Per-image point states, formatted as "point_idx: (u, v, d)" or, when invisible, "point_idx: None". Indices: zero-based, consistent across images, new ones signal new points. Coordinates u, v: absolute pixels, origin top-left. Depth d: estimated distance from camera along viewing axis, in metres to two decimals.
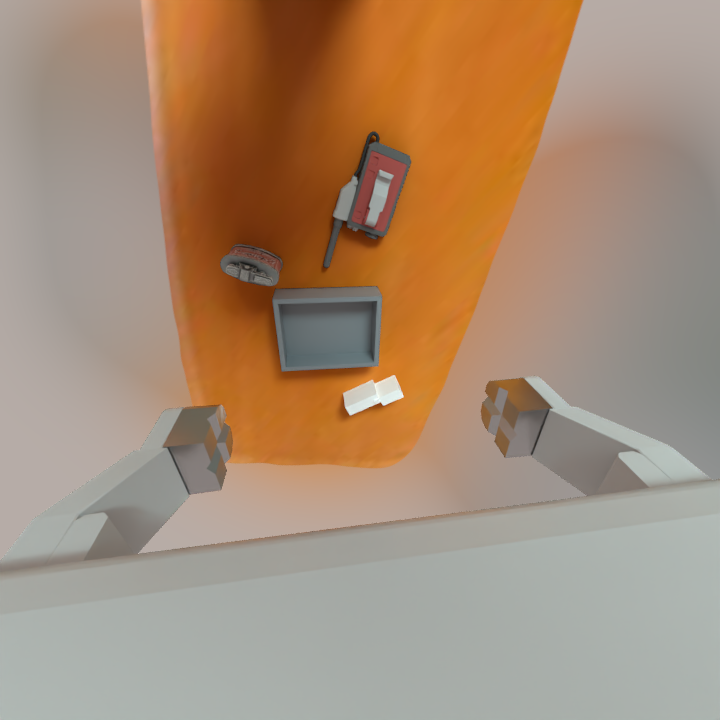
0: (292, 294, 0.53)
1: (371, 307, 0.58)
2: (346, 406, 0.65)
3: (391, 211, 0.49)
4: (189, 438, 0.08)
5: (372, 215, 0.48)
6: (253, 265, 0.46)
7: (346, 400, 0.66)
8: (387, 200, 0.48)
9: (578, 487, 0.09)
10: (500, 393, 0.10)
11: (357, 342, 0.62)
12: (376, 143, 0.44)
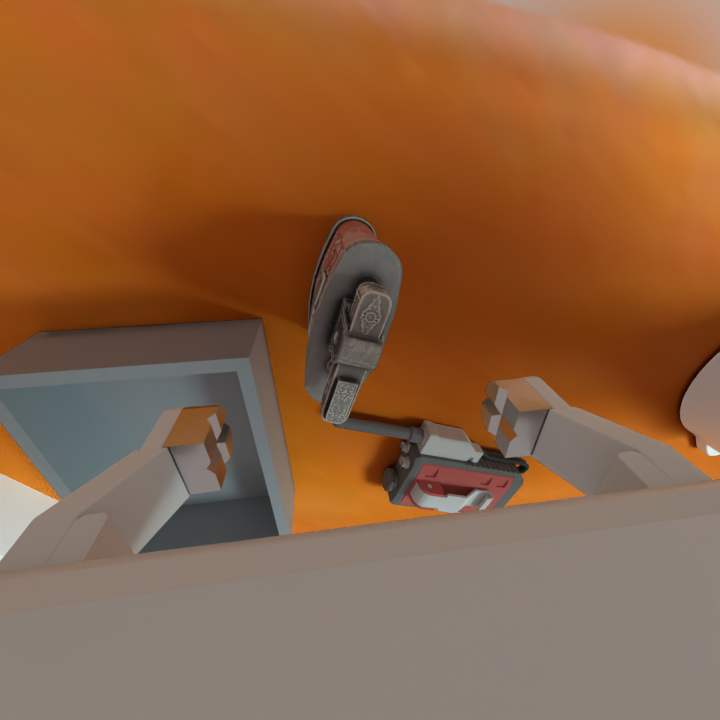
0: (263, 382, 0.20)
1: (252, 496, 0.29)
2: None
3: None
4: (189, 438, 0.08)
5: (434, 501, 0.28)
6: None
7: None
8: None
9: (578, 487, 0.09)
10: (500, 393, 0.10)
11: None
12: (521, 482, 0.30)
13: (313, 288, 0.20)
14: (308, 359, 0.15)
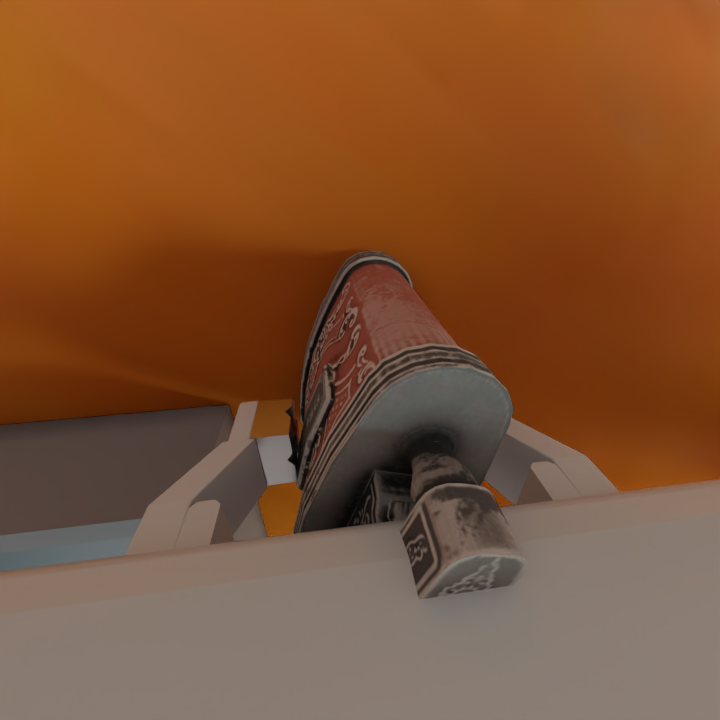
0: None
1: None
2: None
3: None
4: (273, 430, 0.08)
5: None
6: None
7: None
8: None
9: (506, 496, 0.08)
10: None
11: None
12: None
13: (308, 366, 0.12)
14: None
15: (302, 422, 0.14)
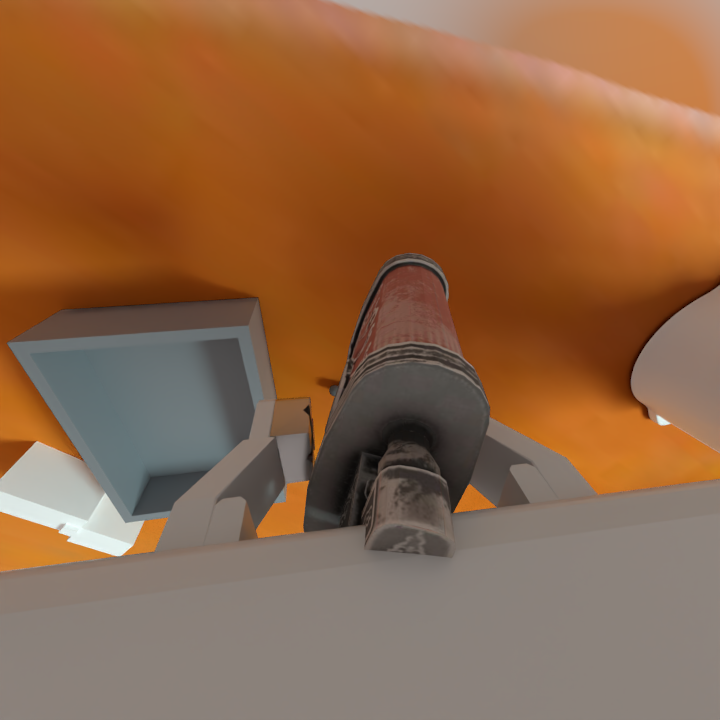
0: (260, 351, 0.24)
1: None
2: None
3: None
4: (293, 428, 0.08)
5: None
6: None
7: (18, 470, 0.26)
8: None
9: (489, 498, 0.08)
10: None
11: (166, 455, 0.30)
12: None
13: None
14: (307, 529, 0.08)
15: None
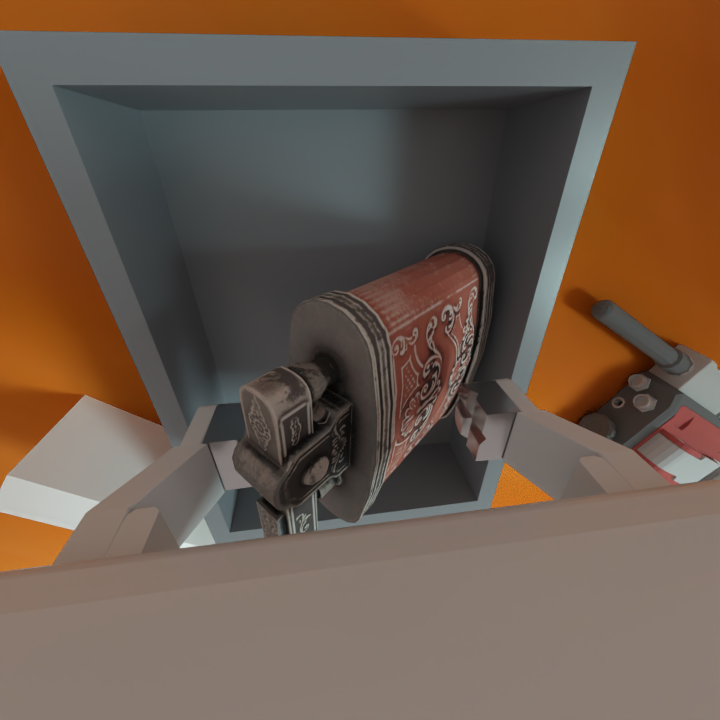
0: None
1: None
2: (22, 472, 0.12)
3: None
4: (227, 434, 0.08)
5: (683, 463, 0.19)
6: (354, 456, 0.09)
7: (58, 441, 0.14)
8: (660, 474, 0.21)
9: (546, 491, 0.09)
10: (470, 396, 0.09)
11: None
12: None
13: None
14: None
15: None
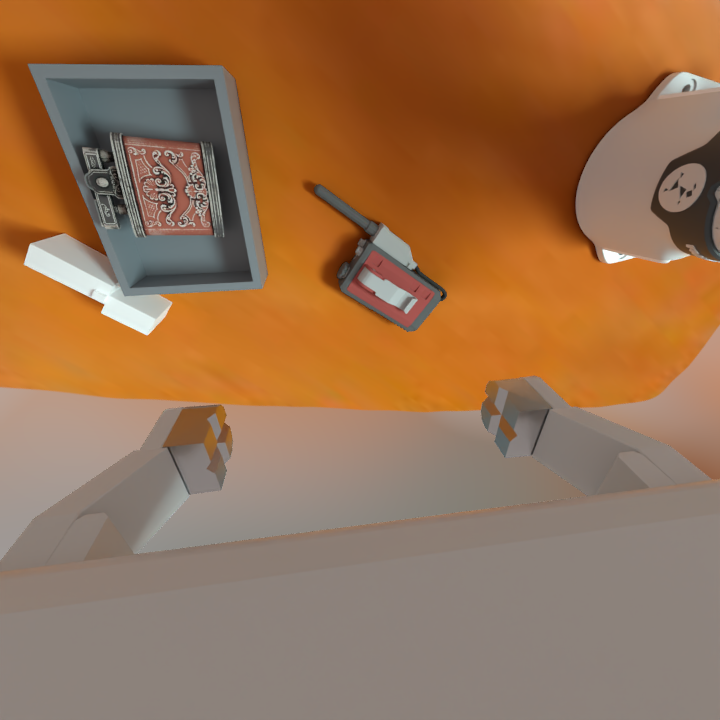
0: (235, 117, 0.28)
1: (232, 269, 0.37)
2: (36, 245, 0.30)
3: (367, 302, 0.39)
4: (189, 438, 0.08)
5: (374, 281, 0.36)
6: None
7: (51, 242, 0.31)
8: (381, 301, 0.39)
9: (578, 487, 0.09)
10: (500, 393, 0.10)
11: (160, 250, 0.35)
12: (439, 299, 0.40)
13: None
14: None
15: None
